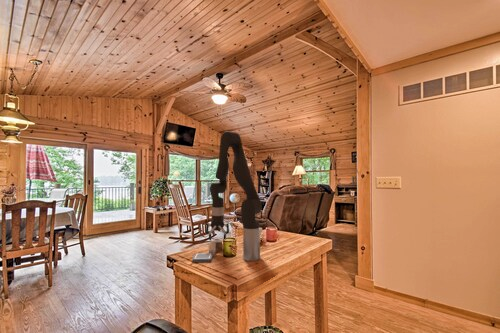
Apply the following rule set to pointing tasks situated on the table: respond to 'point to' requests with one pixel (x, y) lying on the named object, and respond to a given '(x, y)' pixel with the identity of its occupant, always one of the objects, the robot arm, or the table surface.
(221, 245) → the walnut cube
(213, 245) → the cream cylinder
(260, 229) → the duck figurine
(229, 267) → the table surface
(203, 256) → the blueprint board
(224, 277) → the table surface
